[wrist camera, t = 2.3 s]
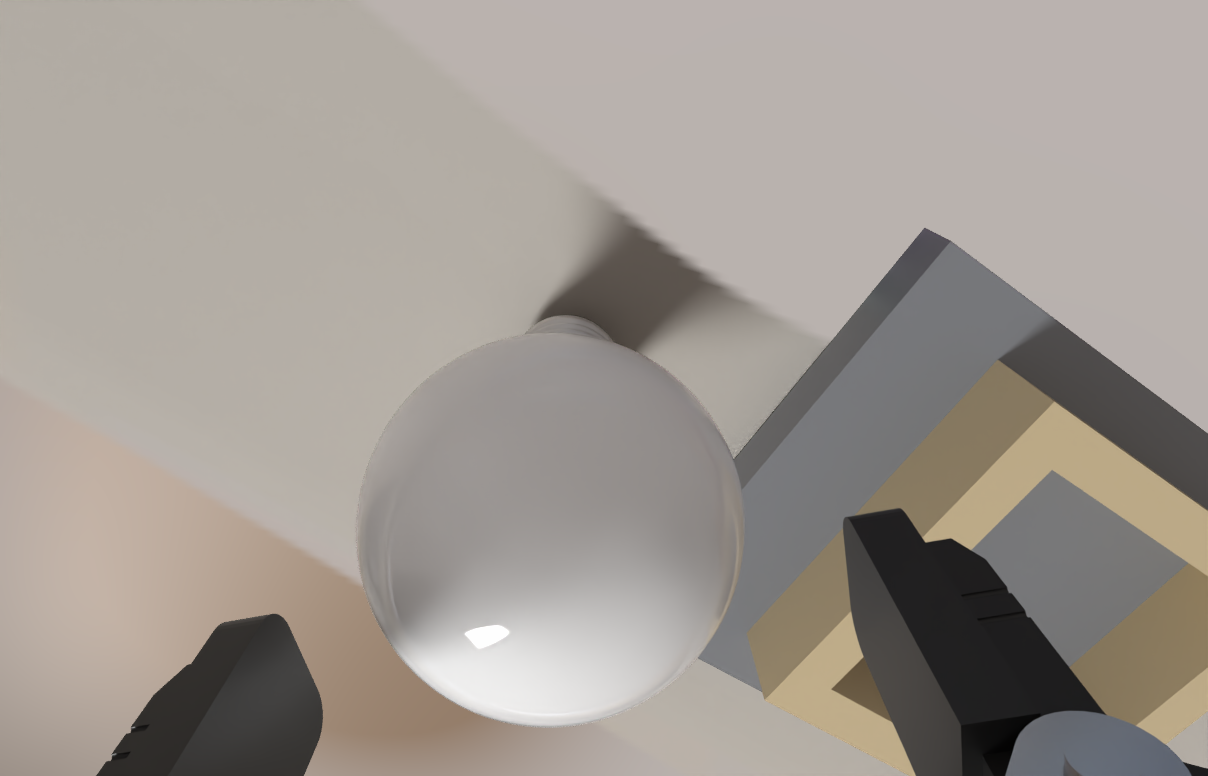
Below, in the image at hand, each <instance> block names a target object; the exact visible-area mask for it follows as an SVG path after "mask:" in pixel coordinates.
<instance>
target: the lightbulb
mask: <svg viewBox="0 0 1208 776" xmlns="http://www.w3.org/2000/svg"><path fill="white" fill-rule="evenodd" d="M744 544H745V510H744V501H743V494H742V488H741V484H740V480H739V476H738V472H737V469H736V466H735V463H734V460H733V457H732V455H731V452H730V450H729V448H728V445H727V443H726V441H725V439H724V437H723V435H722V433H721V432H720V430H719V428H718V426H717V425H716V423H715V421H714V420H713V418H712V417H711V415H710V414H709V413H708V411H707V410H706V408H705V407H704V406H703V405H702V403H701V402H700V401H699V400H698V399H697V398H696V396H695V395H694V394H693V393H692V392H691V391H690V390H689V389H688V388H687V387H686V386H685V385H684V384H683V383H682V382H681V381H680V380H678V379H677V378H676V377H675V376H674V375H672V374H671V373H670V372H669V371H667V370H666V369H665V368H663V367H662V366H660V365H659V364H657V363H656V362H654V361H653V360H651V359H649V358H647V357H646V356H644V355H642V354H640V353H638V352H636V351H634V350H632V349H630V348H627V347H625V346H622V345H620V344H617V343H614V342H613V341H612V339H611V338H610V337H609V335H608V334H607V333H606V332H605V331H604V330H603V329H602V328H601V327H599V326H598V325H597V324H595V323H593V322H592V321H590V320H587V319H585V318H582V317H578V316H572V315H559V316H553V317H550V318H547V319H544V320H542V321H540V322H538V323H536V324H535V325H534V326H532V327H531V328H530V329H529V330H528V331H527V332H526V333H525V334H524V335H519V336H514V337H509V338H505V339H501V340H498V341H495V342H492V343H489V344H486V345H483V346H481V347H478V348H476V349H474V350H471V351H469V352H467V353H465V354H463V355H461V356H460V357H458V358H456V359H454V360H453V361H451V362H450V363H448V364H446V365H445V366H443V367H442V368H440V369H439V370H438V371H436V372H435V373H434V374H432V375H431V376H430V377H429V378H428V379H426V380H425V381H424V382H423V383H422V384H421V385H420V386H419V387H418V388H417V389H415V390H414V391H413V393H412V394H411V395H410V396H409V397H408V398H407V399H406V400H405V401H404V402H403V404H402V405H401V406H400V407H399V409H398V410H397V411H396V413H395V414H394V415H393V417H392V418H391V420H390V421H389V423H388V424H387V426H386V427H385V429H384V431H383V433H382V434H381V436H380V438H379V440H378V442H377V444H376V446H375V448H374V450H373V453H372V455H371V458H370V460H369V463H368V466H367V468H366V471H365V475H364V478H363V482H362V486H361V490H360V495H359V501H358V509H357V519H356V545H357V557H358V564H359V570H360V575H361V579H362V583H363V587H364V591H365V594H366V597H367V600H368V602H369V605H370V607H371V610H372V612H373V615H374V617H375V618H376V621H377V623H378V625H379V627H380V628H381V630H382V632H383V633H384V635H385V637H386V638H387V640H388V642H389V643H390V644H391V646H392V647H393V649H394V650H395V651H396V653H397V654H398V655H399V657H400V658H401V659H402V660H403V661H404V663H406V665H407V666H408V667H409V668H410V669H411V670H412V671H413V672H414V673H415V674H416V675H417V676H418V677H419V678H420V679H421V680H423V681H424V682H425V683H426V684H428V685H429V686H430V687H431V688H432V689H434V690H435V691H437V692H438V693H440V694H441V695H443V696H444V697H445V698H447V699H449V700H450V701H452V702H454V703H455V704H457V705H459V706H461V707H463V708H465V709H467V710H469V711H472V712H474V713H476V714H479V715H482V716H484V717H487V718H490V719H494V720H497V721H501V722H505V723H510V724H515V725H521V726H529V727H545V728H546V727H547V728H552V727H568V726H576V725H582V724H588V723H592V722H596V721H600V720H603V719H607V718H610V717H613V716H615V715H618V714H621V713H623V712H625V711H628V710H630V709H632V708H634V707H636V706H638V705H640V704H642V703H643V702H645V701H647V700H649V699H650V698H652V697H653V696H655V695H656V694H658V693H659V692H661V691H662V690H664V689H665V688H666V687H668V686H669V685H670V684H671V683H673V682H674V681H675V680H676V679H677V678H678V677H680V676H681V675H682V674H683V673H684V672H685V671H686V670H687V669H688V668H689V667H690V666H691V665H692V664H693V663H694V661H695V660H696V659H697V658H698V657H699V656H700V654H701V653H702V652H703V651H704V649H705V648H706V647H707V645H708V644H709V642H710V641H711V639H712V638H713V636H714V635H715V633H716V631H717V630H718V628H719V626H720V624H721V623H722V621H723V619H724V617H725V615H726V613H727V610H728V608H729V606H730V603H731V601H732V598H733V595H734V592H735V589H736V586H737V583H738V579H739V575H740V571H741V566H742V560H743V553H744Z"/></svg>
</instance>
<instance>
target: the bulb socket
mask: <svg viewBox="0 0 1208 776" xmlns="http://www.w3.org/2000/svg"><path fill="white" fill-rule="evenodd" d="M734 463H735V466H736V469H737V472H738V476H739V480H740V484H741V488H742V494H743V501H744V510H745V544H744V553H743V560H742V566H741V571H740V575H739V579H738V583H737V586H736V589H735V592H734V595H733V598H732V601H731V603H730V606H729V608H728V610H727V613H726V615H725V617H724V619H723V621H722V623H721V624H720V626H719V628H718V630H717V631H716V633H715V635H714V636H713V638H712V639H711V641H710V642H709V644H708V645H707V647H706V648H705V649H704V651H703V652H702V653H701V654H700V656H699V657H698V659H700V660H702V661H704V662H706V663H708V664H710V665H712V666H714V667H716V668H717V669H719V670H721V671H723V672H725V673H727V674H729V675H731V676H733V677H735V678H737V679H738V680H740V681H742V682H744V683H746V684H748V685H750V686H752V687H754V688H756V689H758V690H759V691H761V692H763V696H764V699H765V701H767V702H769V703H771V704H773V705H775V706H777V707H779V708H781V709H783V710H784V711H786V712H788V713H790V714H792V715H794V716H796V717H798V718H800V719H802V720H804V721H806V722H807V723H809V724H811V725H813V726H815V727H817V728H819V729H821V730H823V731H825V732H827V733H829V734H830V735H832V736H834V737H836V738H838V739H840V740H842V741H844V742H846V743H848V744H850V745H852V746H853V747H855V748H857V749H859V750H861V751H863V752H865V753H867V754H869V755H871V756H873V757H875V758H876V759H878V760H880V761H882V762H884V763H886V764H888V765H890V766H892V767H894V768H896V769H898V770H899V771H901V772H903V773H905V774H907V775H909V776H916V775H915V773H914V770H913V768H912V766H911V763H910V761H909V759H908V757H907V754H906V752H905V750H904V748H903V745H902V743H901V741H900V738H899V736H898V734H897V732H896V729H895V727H894V725H893V723H892V720H891V718H890V716H889V713H888V711H887V709H886V707H885V704H884V702H883V700H882V698H881V695H880V693H879V691H878V688H877V686H876V684H875V682H874V679H873V677H872V675H871V672H870V670H869V668H868V666H867V663H866V661H865V659H864V656H863V654H862V651H861V649H860V646H859V643H858V639H857V636H856V632H855V628H854V624H853V619H852V613H851V606H850V596H849V586H848V576H847V566H846V556H845V546H844V535H843V520H844V518H845V517H849V516H855V515H861V514H866V513H872V512H878V511H884V510H890V509H895V508H901V509H902V510H903V511H904V512H905V513H906V514H907V516H908V517H909V519H910V520H911V522H912V523H913V525H914V526H915V528H916V529H917V531H918V532H919V534H920V535H921V537H922V538H923V540H924V541H925V542H931V541H937V540H943V539H949V538H952V539H953V540H955V541H957V542H958V543H960V544H961V545H963V546H965V547H966V548H968V549H970V550H971V551H973V552H975V553H976V554H978V555H980V556H981V557H983V558H985V559H986V560H987V562H988V563H989V564H990V565H991V567H992V568H993V569H994V571H995V572H996V573H997V574H998V576H999V577H1000V578H1001V580H1002V581H1003V582H1004V584H1005V585H1006V586H1007V589H1008V592H1009V593H1012V594H1013V595H1014V596H1015V598H1016V599H1017V600H1018V602H1019V603H1020V604H1021V606H1022V607H1023V608H1024V609H1025V611H1026V615H1027V617H1031V618H1032V620H1033V621H1034V622H1035V624H1036V625H1037V626H1038V628H1039V629H1040V630H1041V631H1042V633H1043V634H1044V635H1045V637H1046V638H1047V639H1048V640H1049V642H1050V643H1051V644H1052V646H1053V647H1054V648H1055V649H1056V651H1057V652H1058V653H1059V655H1060V656H1061V657H1062V659H1063V660H1064V661H1065V662H1066V664H1067V665H1068V666H1069V668H1070V669H1071V670H1072V671H1073V673H1074V674H1075V675H1076V677H1077V678H1078V679H1079V681H1080V682H1081V683H1082V684H1083V686H1084V687H1085V688H1086V690H1087V691H1088V692H1089V693H1090V695H1091V696H1092V697H1093V699H1094V700H1095V701H1096V703H1097V704H1098V705H1099V706H1100V708H1101V709H1102V710H1103V711H1104V713H1105V714H1106V715H1108V716H1112V717H1115V718H1118V719H1120V720H1123V721H1126V722H1128V723H1131V724H1133V725H1135V726H1137V727H1139V728H1141V729H1143V730H1145V731H1146V732H1148V733H1150V734H1151V735H1153V736H1155V737H1156V738H1157V739H1159V740H1160V741H1161V742H1163V743H1164V744H1167V743H1168V742H1169V741H1171V740H1172V739H1173V738H1174V737H1176V736H1177V735H1178V734H1179V733H1181V732H1182V731H1183V730H1184V729H1186V728H1187V727H1188V726H1190V725H1191V724H1192V723H1193V722H1195V721H1196V720H1197V719H1198V718H1200V717H1201V716H1202V715H1204V714H1205V713H1206V712H1207V711H1208V433H1206V432H1205V431H1204V430H1202V429H1201V428H1200V427H1198V426H1197V425H1196V424H1194V423H1193V422H1191V421H1190V420H1189V419H1187V418H1186V417H1185V416H1184V415H1182V414H1181V413H1179V412H1178V411H1177V410H1176V409H1174V408H1173V407H1171V406H1170V405H1169V404H1168V403H1166V402H1165V401H1164V400H1162V399H1161V398H1159V397H1158V396H1157V395H1155V394H1154V393H1153V392H1151V391H1150V390H1149V389H1147V388H1146V387H1145V386H1143V385H1142V384H1141V383H1139V382H1138V381H1137V380H1135V379H1134V378H1133V377H1131V376H1130V375H1129V374H1127V373H1126V372H1125V371H1123V370H1122V369H1121V368H1119V367H1118V366H1117V365H1115V364H1114V363H1113V362H1111V361H1110V360H1109V359H1107V358H1106V357H1105V356H1103V355H1102V354H1101V353H1099V352H1098V351H1097V350H1095V349H1094V348H1092V347H1091V346H1090V345H1089V344H1087V343H1086V342H1085V341H1083V340H1082V339H1080V338H1079V337H1078V336H1077V335H1075V334H1074V333H1073V332H1071V331H1070V330H1069V329H1067V328H1066V327H1065V326H1063V325H1062V324H1061V323H1059V322H1058V321H1057V320H1055V319H1054V318H1053V317H1051V316H1050V315H1049V314H1047V313H1046V312H1045V311H1043V310H1042V309H1041V308H1039V307H1038V306H1037V305H1035V304H1034V303H1033V302H1031V301H1030V300H1029V299H1027V298H1026V297H1025V296H1023V295H1022V294H1021V293H1019V292H1018V291H1017V290H1015V289H1014V288H1013V287H1011V286H1010V285H1009V284H1007V283H1006V282H1005V281H1003V280H1002V279H1001V278H999V277H998V276H997V275H995V274H994V273H993V272H991V271H990V270H989V269H987V268H986V267H985V266H983V265H982V264H981V263H979V262H978V261H977V260H975V259H974V258H973V257H971V256H970V255H969V254H967V253H966V252H965V251H963V250H962V249H961V248H959V247H958V246H957V245H955V244H954V243H952V242H951V241H949V240H948V239H946V238H944V237H942V236H940V235H938V234H936V233H934V232H932V231H930V230H928V229H926V228H924V229H923V230H922V232H921V233H920V234H919V235H918V237H917V238H916V239H915V240H914V241H913V243H912V244H911V245H910V246H909V248H908V249H907V250H906V251H905V252H904V254H903V255H902V256H901V257H900V258H899V260H898V261H897V262H896V264H895V265H894V266H893V267H892V268H891V270H890V271H889V272H888V273H887V274H886V276H885V277H884V278H883V279H882V280H881V282H880V283H879V284H878V285H877V286H876V288H875V289H874V290H873V291H872V293H871V294H870V295H869V296H868V297H867V299H866V300H865V301H864V303H862V305H861V306H860V307H859V308H858V310H857V311H856V312H855V313H854V315H853V316H852V317H851V318H850V319H849V321H848V322H847V323H846V324H845V325H844V327H843V328H842V329H841V330H840V331H839V333H838V334H837V335H836V337H835V338H834V339H833V340H832V341H831V342H830V344H829V345H828V346H827V347H826V349H825V350H824V351H823V352H822V353H821V355H820V356H819V357H818V358H817V359H816V361H815V362H814V363H813V364H812V366H811V367H810V368H809V369H808V370H807V372H806V373H805V374H804V375H803V377H802V378H801V379H800V380H799V381H798V383H797V384H796V385H795V386H794V387H793V389H792V390H791V391H790V392H789V394H788V395H787V396H786V397H785V398H784V400H783V401H782V402H781V403H780V405H779V406H778V407H777V408H776V409H775V411H774V412H773V413H772V414H771V415H770V417H769V418H768V419H767V420H766V422H765V423H764V424H763V425H762V426H761V428H760V429H759V430H758V431H757V433H756V434H755V435H754V436H753V437H752V439H751V440H750V441H749V442H748V443H747V445H746V446H745V447H744V448H743V450H742V451H741V452H740V453H739V454H738V456H737V457H736V458H735V459H734Z"/></svg>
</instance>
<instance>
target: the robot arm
mask: <svg viewBox="0 0 1208 776" xmlns="http://www.w3.org/2000/svg"><path fill="white" fill-rule="evenodd" d="M843 535H844V546H845V556H846V566H847V576H848V586H849V596H850V606H851V613H852V619H853V624H854V628H855V632H856V636H857V639H858V643H859V646H860V649H861V651H862V654H863V656H864V659H865V661H866V663H867V666H868V668H869V670H870V672H871V675H872V677H873V679H874V682H875V684H876V686H877V688H878V691H879V693H880V695H881V698H882V700H883V702H884V704H885V707H886V709H887V711H888V713H889V716H890V718H891V720H892V723H893V725H894V727H895V729H896V732H897V734H898V736H899V738H900V741H901V743H902V745H903V748H904V750H905V752H906V754H907V757H908V759H909V761H910V763H911V766H912V768H913V770H914V773H915V775H916V776H1208V769H1207V768H1202V767H1199V766H1195V765H1191V764H1187V763H1185V762H1182V761H1181V759H1180V758H1179V757H1178V756H1177V755H1176V754H1175V753H1174V752H1173V751H1172V750H1171V749H1170V748H1169V747H1168V746H1167V745H1165V744H1164V743H1163V742H1161V741H1160V740H1159V739H1157V738H1156V737H1155V736H1153V735H1151V734H1150V733H1148V732H1146V731H1145V730H1143V729H1141V728H1139V727H1137V726H1135V725H1133V724H1131V723H1128V722H1126V721H1123V720H1120V719H1118V718H1115V717H1112V716H1108V715H1106V714H1105V713H1104V711H1103V710H1102V709H1101V708H1100V706H1099V705H1098V704H1097V703H1096V701H1095V700H1094V699H1093V697H1092V696H1091V695H1090V693H1089V692H1088V691H1087V690H1086V688H1085V687H1084V686H1083V684H1082V683H1081V682H1080V681H1079V679H1078V678H1077V677H1076V675H1075V674H1074V673H1073V671H1072V670H1071V669H1070V668H1069V666H1068V665H1067V664H1066V662H1065V661H1064V660H1063V659H1062V657H1061V656H1060V655H1059V653H1058V652H1057V651H1056V649H1055V648H1054V647H1053V646H1052V644H1051V643H1050V642H1049V640H1048V639H1047V638H1046V637H1045V635H1044V634H1043V633H1042V631H1041V630H1040V629H1039V628H1038V626H1037V625H1036V624H1035V622H1034V621H1033V620H1032V618H1031V617H1027V615H1026V611H1025V609H1024V608H1023V607H1022V606H1021V604H1020V603H1019V602H1018V600H1017V599H1016V598H1015V596H1014V595H1013V594H1012V593H1009V592H1008V589H1007V586H1006V585H1005V584H1004V582H1003V581H1002V580H1001V578H1000V577H999V576H998V574H997V573H996V572H995V571H994V569H993V568H992V567H991V565H990V564H989V563H988V562H987V560H986V559H985V558H983V557H981V556H980V555H978V554H976V553H975V552H973V551H971V550H970V549H968V548H966V547H965V546H963V545H961V544H960V543H958V542H957V541H955V540H953V539H952V538H949V539H943V540H937V541H931V542H925V541H924V540H923V538H922V537H921V535H920V534H919V532H918V531H917V529H916V528H915V526H914V525H913V523H912V522H911V520H910V519H909V517H908V516H907V514H906V513H905V512H904V511H903V510H902V509H901V508H895V509H890V510H884V511H878V512H872V513H866V514H861V515H855V516H849V517H845V518H844V520H843ZM322 720H323V710H322V702H321V698H320V694H319V692H318V689H317V687H316V685H315V683H314V680H313V678H312V676H311V674H310V672H309V669H308V668H307V665H306V663H305V661H304V659H303V656H302V654H301V652H300V650H299V647H298V645H297V643H296V641H295V639H294V636H293V634H292V632H291V630H290V628H289V626H288V624H287V622H286V621H285V620H284V618H283V617H281V616H280V615H278V614H270V615H264V616H258V617H252V618H246V619H240V620H235V621H229V622H224V623H222V624H220V625H219V626H218V627H217V628H216V629H215V630H214V631H213V633H212V634H211V636H210V637H209V639H208V640H207V642H206V643H205V645H204V646H203V648H202V649H201V651H200V652H199V653H198V655H197V656H196V658H195V659H194V661H193V662H192V664H189V665H187V666H186V667H184V668H183V669H182V670H181V671H180V672H179V673H178V674H177V675H176V676H174V677H173V678H172V679H171V680H170V681H169V682H168V683H167V684H166V685H164V686H163V687H162V688H161V689H160V690H159V691H158V692H157V693H155V695H153V697H152V698H151V700H150V701H149V702H148V704H147V705H146V707H145V708H144V710H143V711H142V712H141V714H140V715H139V717H138V718H137V719H136V721H135V722H134V724H133V725H132V726H131V733H129V734H126V735H125V736H124V738H123V739H122V740H121V742H120V743H119V745H118V746H117V747H116V749H115V750H114V752H113V753H112V760H111V761H107V762H106V763H105V764H104V766H103V767H102V769H101V770H100V771H99V773H98V774H97V775H96V776H304V774H305V772H306V769H307V767H308V765H309V762H310V760H311V758H312V755H313V753H314V750H315V748H316V746H317V743H318V741H319V738H320V734H321V729H322Z"/></svg>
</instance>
